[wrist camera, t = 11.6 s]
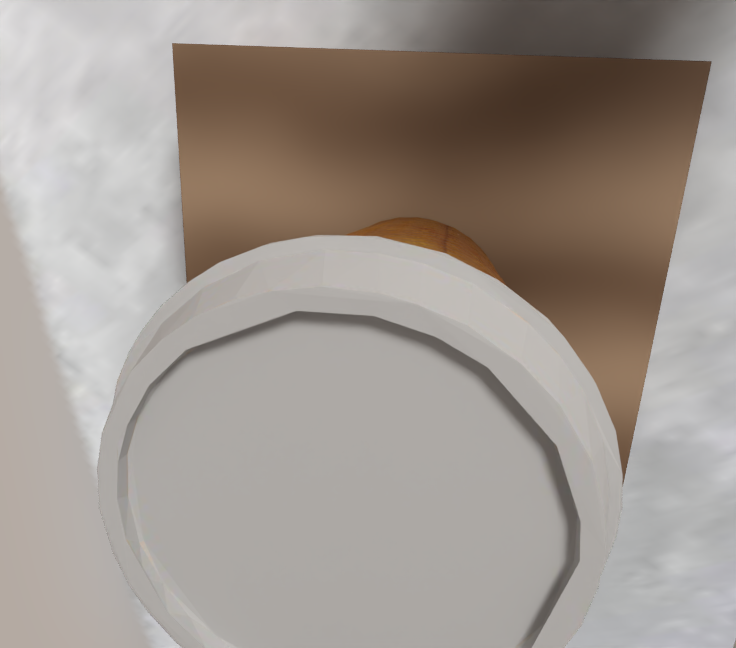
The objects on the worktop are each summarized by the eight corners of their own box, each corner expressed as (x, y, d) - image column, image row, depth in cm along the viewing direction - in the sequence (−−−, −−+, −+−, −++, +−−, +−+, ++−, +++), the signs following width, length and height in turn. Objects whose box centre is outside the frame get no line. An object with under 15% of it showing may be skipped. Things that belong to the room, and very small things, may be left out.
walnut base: (591, 460, 28) (612, 533, 23) (241, 418, 30) (198, 477, 26) (664, 67, 22) (711, 61, 18) (230, 52, 25) (172, 43, 20)
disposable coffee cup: (400, 477, 24) (330, 807, 13) (222, 291, 23) (-27, 482, 12) (616, 326, 21) (772, 595, 10) (423, 98, 19) (346, 106, 8)
